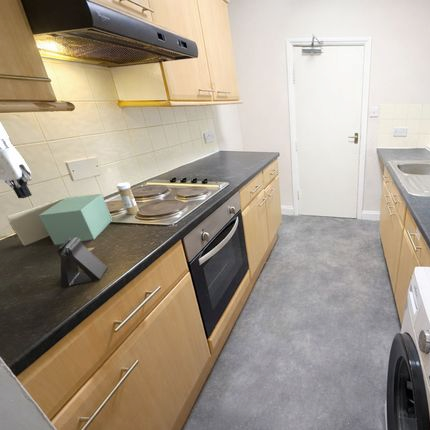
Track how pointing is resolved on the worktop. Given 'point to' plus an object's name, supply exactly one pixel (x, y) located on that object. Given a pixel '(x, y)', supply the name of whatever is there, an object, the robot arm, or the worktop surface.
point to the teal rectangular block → (76, 218)
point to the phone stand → (78, 264)
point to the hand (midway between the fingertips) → (25, 196)
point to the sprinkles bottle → (127, 198)
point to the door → (30, 223)
